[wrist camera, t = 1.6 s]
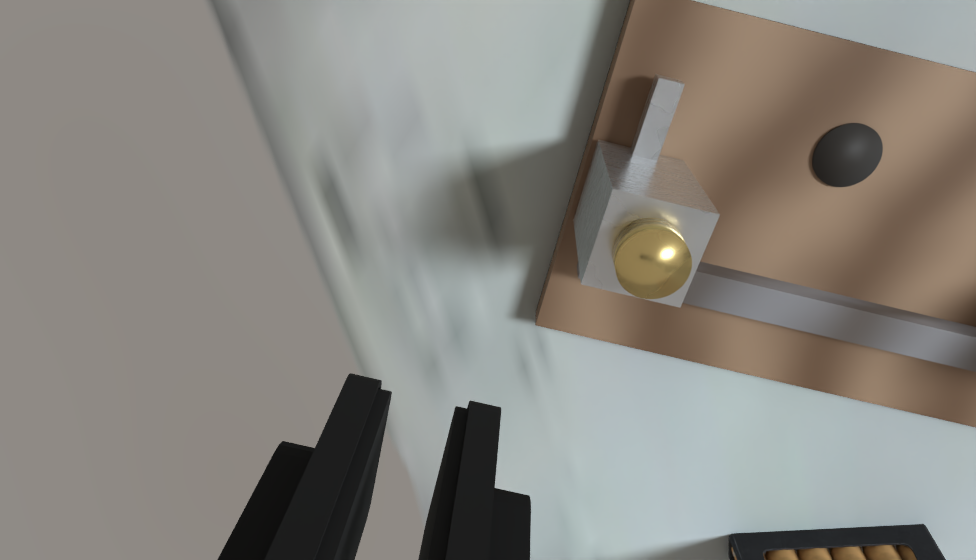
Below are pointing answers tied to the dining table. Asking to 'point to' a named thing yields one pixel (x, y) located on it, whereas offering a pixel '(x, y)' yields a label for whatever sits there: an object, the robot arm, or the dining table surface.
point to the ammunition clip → (837, 544)
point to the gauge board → (800, 210)
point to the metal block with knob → (643, 211)
